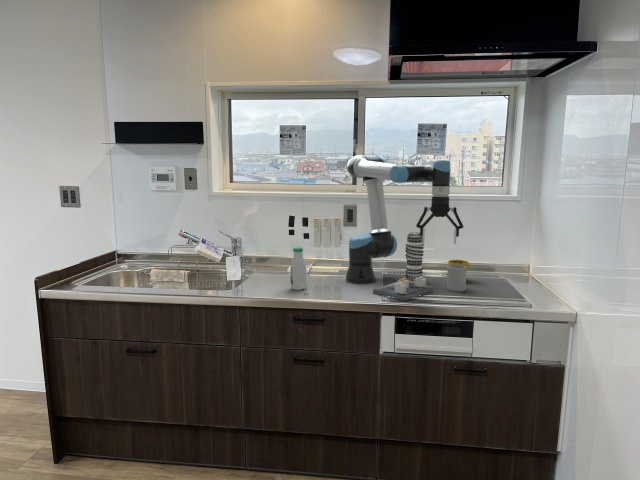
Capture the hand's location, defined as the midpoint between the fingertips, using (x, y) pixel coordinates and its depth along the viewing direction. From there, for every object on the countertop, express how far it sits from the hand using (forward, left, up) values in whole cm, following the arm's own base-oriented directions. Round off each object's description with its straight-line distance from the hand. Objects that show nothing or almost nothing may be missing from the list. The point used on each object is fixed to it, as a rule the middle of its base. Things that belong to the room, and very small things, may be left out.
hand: (438, 243), depth 199 cm
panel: (-13, -9, -23) cm, 28 cm away
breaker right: (-9, -1, -21) cm, 23 cm away
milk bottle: (-54, -37, -23) cm, 69 cm away
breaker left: (-9, -17, -21) cm, 28 cm away
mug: (+1, +14, -23) cm, 28 cm away
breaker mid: (-13, -9, -21) cm, 26 cm away
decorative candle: (-21, +12, -23) cm, 34 cm away
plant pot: (-6, +29, -23) cm, 38 cm away
